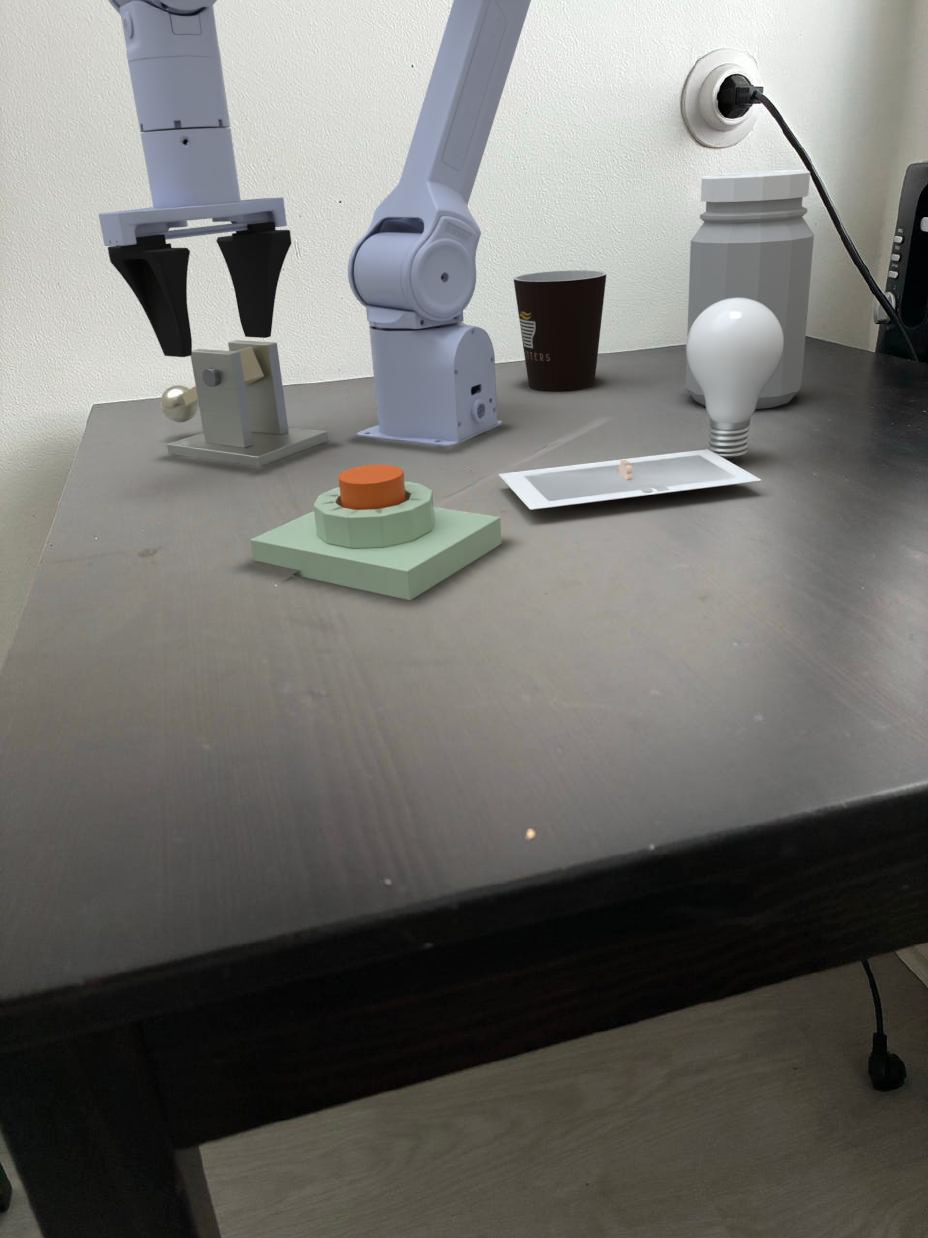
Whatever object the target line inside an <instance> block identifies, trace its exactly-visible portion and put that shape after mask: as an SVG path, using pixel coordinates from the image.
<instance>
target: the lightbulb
mask: <svg viewBox="0 0 928 1238" xmlns="http://www.w3.org/2000/svg"><path fill="white" fill-rule="evenodd" d="M783 350H784V337H783V331H782V328H781V325H780V323H779V321H778V319H777V318H776V316H775V315H774V314H773V312H772V311H771V310H770V309H769V308H767V307H766V306H765V305H763V304H762V303H760V302H758V301H755V300H752V299H748V298H740V297H736V298H728V299H724V300H721V301H719V302H716V303H714V304H712V305H711V306H709V307H708V308H707V309H705V310H704V311H703V312H702V313H701V314H700V315H699V316H698V317H697V319H696V320H695V322H694V323H693V325H692V327H691V329H690V331H689V334H688V338H687V337H686V344H685V357H686V361H687V362H688V366H689V368H690V370H691V373H692V374H693V376H694V378H695V380H696V381H697V383H698V384H699V386H700V388H701V389H702V391H703V394H704V397H705V403H706V406H705V408H706V409H705V410H706V412H707V415H708V417H709V426H710V429H709V432H710V434H709V436H708V437H709V441H708V443H709V446H708V450H710V451H712V452H714V453H715V454H717V455H719V456H721V457H722V458H724V459H726V460H728V461H729V462H733V461H735V460H738V459H739V458H741V457H744V456H745V455H746V454H747V453H748V451H749V449H748V448H749V443H748V442H749V440H750V439H749V436H750V431H749V430H750V426H751V418H752V416H753V415H754V413H755V411H756V409H755V408H756V404H757V401H758V397H759V395H760V393H761V391H762V390H763V388H764V387H765V385H766V384H767V383H768V381H769V380H770V379H771V377H772V376H773V374H774V373H775V371H776V370H777V368H778V366H779V364H780V361H781V359H782V355H783Z"/></svg>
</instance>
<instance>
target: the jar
mask: <svg viewBox="0 0 928 1238" xmlns="http://www.w3.org/2000/svg"><path fill="white" fill-rule="evenodd" d="M810 177H811V171H809V170H808V169H784V170H782V169H781V170H762V171H745V172H731V173H729V172H728V173H717V174H716V173H715V174H708V175H704V176H702V178H701V183H700V184H701V185H700V188H701V189H700V202H704V203H705V211H704V212H702V213H701V214H699V219H700V220H701V221H703V222H702V224H701V226H700V227H699V228H698V230H697V231H696V233H695V234H694V236H693V237H692V238H691V239H690V251H689V252H690V253H689V276H688V277H689V280H688V305H687V306H688V307H687V332H686V333H687V334H686V335H687V336H686V339H687V338H688V334H689V331H690V329H691V327H692V325H693V323H694V322H695V320H696V319H697V317H698V316H699V315H700V314H701V313H702V312H703V311H704V310H705V309H707V308H708V307H709V306H711V305H712V304H714V303H716V302H719V301H721V300H724V299H728V298H736V297H740V298H748V299H752V300H755V301H758V302H760V303H762V304H763V305H765V306H766V307H767V308H769V309H770V310H771V311H772V312H773V314H774V315H775V316H776V318H777V319H778V321H779V323H780V325H781V328H782V331H783V337H784V350H783V355H782V359H781V361H780V364H779V366H778V368H777V370H776V371H775V373H774V374H773V376H772V377H771V379H770V380H769V381H768V383H767V384H766V385H765V387H764V388H763V390H762V391H761V393H760V395H759V397H758V401H757V404H756V408H755V410H760V409H770V408H776V407H780V406H782V405H786V404H789V402H791V400H792V399H793V398H794V397H795V396H796V395H797V394H798V393H799V391H800V389H801V387H802V382H803V372H804V371H803V370H804V358H805V347H806V335H807V325H808V324H807V323H808V312H809V311H808V310H809V298H810V288H811V275H812V264H813V263H812V262H813V251H814V239H815V233H814V232H813V230H812V229H811V227H810V226H809V225H808V223H807V222H806V220H805V218H804V216H805V215H807V213H808V208H807V207H804V206H803V200H804V199H803V198H806V197H808V196H809V191H810V180H811V179H810ZM685 363H686V365H685V390H686V391H687V392H688V393H689V395H690V396H691V397H692V399H693V400H694V401H695V402H697V403H698V404H700V405H701V406H705V407H706V403H705V397H704V394H703V391H702V389H701V388H700V386H699V384H698V383H697V381H696V380H695V378H694V376H693V374H692V373H691V370H690V368H689V366H688V362H687V360H686V362H685Z"/></svg>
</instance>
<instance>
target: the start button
mask: <svg viewBox="0 0 928 1238" xmlns="http://www.w3.org/2000/svg"><path fill="white" fill-rule="evenodd" d="M404 481H405V473H404V470H403V469H402V468H401V467H399V466H396V465H389V464H366V465H361V466H356V467H355V466H354V467H352V468H348V469H345V470H343V471H342V472H341V473H339V475H338V485H339V486H338V487H340V495H341V504H342V508H347V509H353V510H371V509H381V508H386V507H391V506H396V505H399V504H401V503H403V502H405V501H406V495H405V483H404Z"/></svg>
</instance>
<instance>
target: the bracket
mask: <svg viewBox="0 0 928 1238" xmlns="http://www.w3.org/2000/svg"><path fill="white" fill-rule="evenodd" d="M227 345H228V350H222V349H221V350H219V349H206V348H205V349H204V348H197V349H192V355H191V356H190V360H191V366H192V373H193V378H194V384H195V385H194V386H196V391H197V397H198V409H199V414H200V419H201V426H202V432H201V433H197V434H194V435H190V436H188V437H187V436H186V437H185V438H181V439H179V440H175V441H172V442H168V443H167V444H166V448H167V453H168V454H169V455H176V456H183V457H189V458H197V459H202V460H209V461H215V462H216V461H217V462H222V463H231V464H236V465H242V466H250V467H256V468H260V467H264V466H266V465H268V464H271V463H274V462H276V461H279V460H281V459H284V458H286V457H289V456H292V455H295V454H297V453H300V452H303V451H306V450H308V449H311V448H313V447H316V446H318V445H321V444H324V443H327V442H329V440H330V439H329V434H328V433H329V432H328V431H326V430H319V429H318V430H317V429H309V428H301V427H294V426H293V427H292V426H289V423H288V416H287V410H286V409H287V408H286V401H285V394H284V386H283V378H282V371H281V363H280V356H279V347H278V343H277V342H276V341H257V340H240V339H239V340H238V339H236V340H231V341H228V342H227ZM249 347H252V349H253V352H254V354H255V356H256V358H257V361H258V363H259V365H260V367H261V370H262V372H263V374H264V377H262V378H260V379H258V380H256V381H255V382H253V383H251V384H249V385H248V386H246V387H245V383H244V376H243V369H242V363H241V356H240V352H237V350H241V349H245V348H249Z"/></svg>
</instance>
